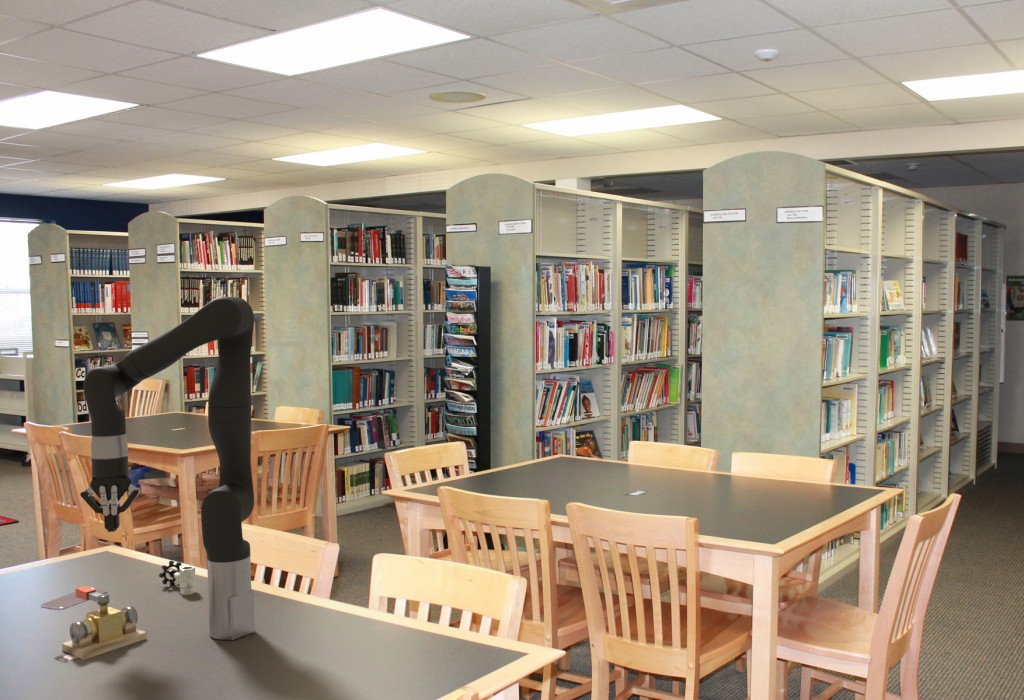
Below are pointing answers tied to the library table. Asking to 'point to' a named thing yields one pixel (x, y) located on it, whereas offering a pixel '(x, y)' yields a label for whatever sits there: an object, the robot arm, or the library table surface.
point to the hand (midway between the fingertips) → (112, 530)
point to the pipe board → (91, 649)
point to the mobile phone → (67, 601)
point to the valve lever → (92, 595)
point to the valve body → (103, 624)
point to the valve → (180, 577)
